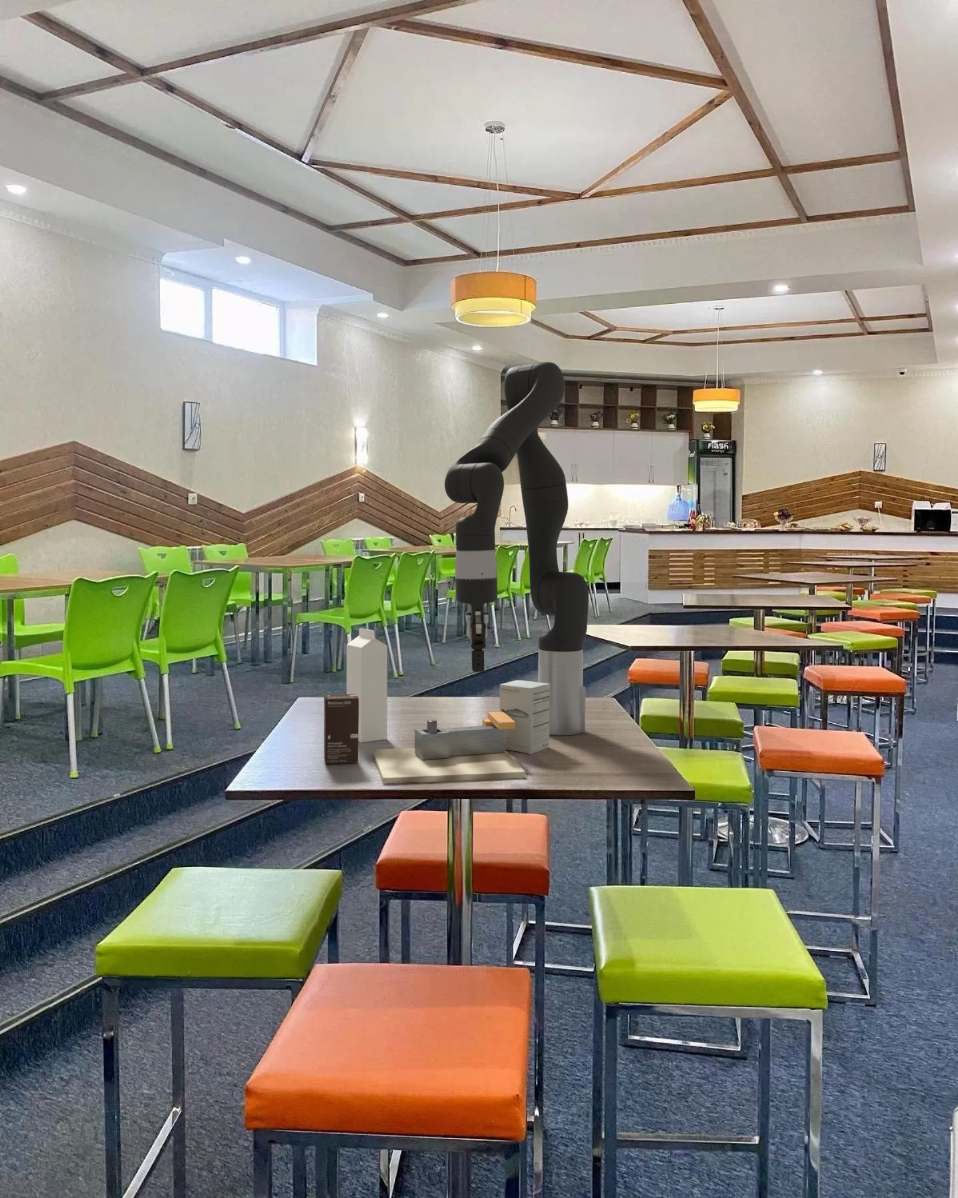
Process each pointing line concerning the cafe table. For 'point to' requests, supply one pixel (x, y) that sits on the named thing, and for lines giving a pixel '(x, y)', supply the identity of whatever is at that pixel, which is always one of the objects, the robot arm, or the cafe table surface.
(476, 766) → the board
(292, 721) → the cafe table surface
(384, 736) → the milk
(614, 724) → the cafe table surface
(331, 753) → the box
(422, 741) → the link
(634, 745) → the cafe table surface
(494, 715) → the block
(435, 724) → the pintle
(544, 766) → the cafe table surface
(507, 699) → the supplement box
